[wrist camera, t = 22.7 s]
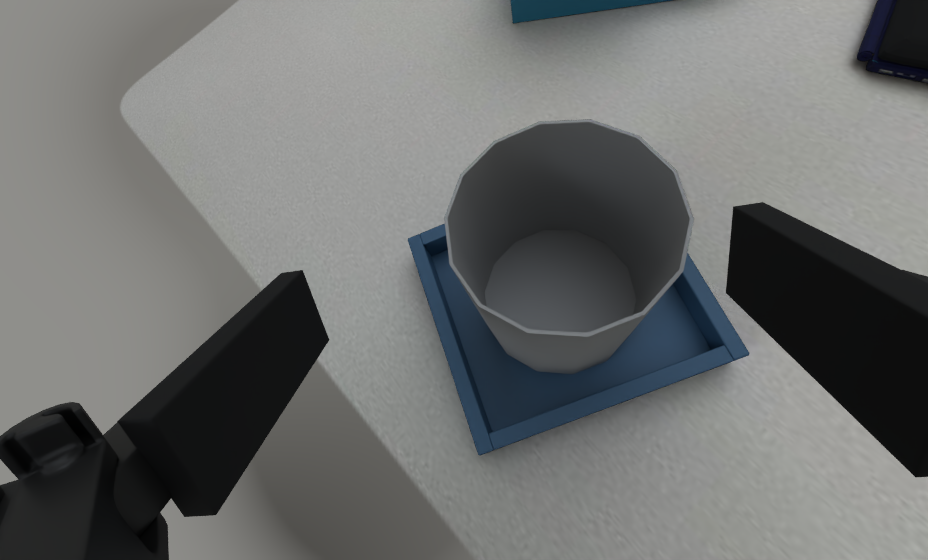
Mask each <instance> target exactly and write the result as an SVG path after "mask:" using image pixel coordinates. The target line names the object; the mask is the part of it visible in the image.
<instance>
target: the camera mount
mask: <svg viewBox="0 0 928 560" xmlns="http://www.w3.org/2000/svg"><path fill="white" fill-rule="evenodd" d="M664 1H671V0H511V8H512V19H513V23H518V22H525V21H532V20H539V19H546V18H553V17H560V16H567V15H574V14H580V13H587V12H594V11H601V10H608V9H615V8H622V7H629V6H636V5H643V4H650V3H657V2H664Z"/></svg>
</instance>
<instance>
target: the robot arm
mask: <svg viewBox="0 0 928 560" xmlns="http://www.w3.org/2000/svg"><path fill="white" fill-rule="evenodd" d="M726 293H727V294H728V295H729V296H730V297H731V298H732V299H733V300H734V301H735V302H736V303H737V304H738V305H739V306H740V307H741V308H742V309H743V310H744V311H745V312H746V313H747V314H748V315H749V316H750V317H751V318H752V319H753V320H754V321H755V322H756V323H758V324H759V325H760V326H761V327H762V328H763V329H764V330H765V331H766V332H767V333H768V334H769V335H770V336H771V337H772V338H773V339H774V340H775V341H776V342H777V343H778V344H779V345H780V346H781V347H782V348H783V349H784V350H785V351H786V352H787V353H788V354H789V355H790V356H791V357H792V358H794V359H795V360H796V361H797V362H798V363H799V364H800V365H801V366H802V367H803V368H804V369H805V370H806V371H807V372H808V373H809V374H810V375H811V376H812V377H813V378H814V379H815V380H816V381H817V382H818V383H819V384H820V385H821V386H822V387H823V388H824V389H825V390H826V391H827V392H828V393H830V394H831V395H832V396H833V397H834V398H835V399H836V400H837V401H838V402H839V403H840V404H841V405H842V406H843V407H844V408H845V409H846V410H847V411H848V412H849V413H850V414H851V415H852V416H853V417H854V418H855V419H856V420H857V421H858V422H859V423H860V424H861V425H862V426H863V427H864V428H866V429H867V430H868V431H869V432H870V433H871V434H872V435H873V436H874V437H875V438H876V439H877V440H878V441H879V442H880V443H881V444H882V445H883V446H884V447H885V448H886V449H887V450H888V451H889V452H890V453H891V454H892V455H893V456H894V457H895V458H896V459H897V460H898V461H899V462H900V463H901V464H903V465H904V466H905V467H906V468H907V469H908V470H909V471H910V472H911V473H912V474H913V475H914V476H915V477H928V277H927V276H923V275H919V274H916V273H912V272H908V271H905V270H900V269H898V268H896V267H894V266H892V265H890V264H888V263H886V262H884V261H882V260H880V259H878V258H876V257H874V256H872V255H869V254H867V253H865V252H863V251H861V250H859V249H857V248H855V247H853V246H851V245H849V244H847V243H845V242H843V241H841V240H839V239H837V238H835V237H833V236H831V235H829V234H827V233H825V232H822V231H820V230H818V229H816V228H814V227H812V226H810V225H808V224H806V223H804V222H802V221H800V220H798V219H796V218H794V217H792V216H790V215H788V214H786V213H784V212H782V211H780V210H778V209H775V208H773V207H771V206H769V205H767V204H765V203H763V202H762V203H755V204H749V205H742V206H735V207H733V217H732V229H731V240H730V252H729V263H728V275H727V287H726ZM328 341H329V338H328V336H327V333H326V330H325V328H324V325H323V323H322V320H321V317H320V315H319V312H318V309H317V307H316V304H315V302H314V299H313V296H312V294H311V291H310V289H309V286H308V283H307V281H306V278H305V276H304V273H303V270H300V271H293V272H286V273H281V274H280V275H279V276H278V277H276V278H275V279H274V280H273V281H272V282H271V283H270V284H269V285H268V286H266V287H265V288H264V289H263V290H262V291H261V292H260V293H259V294H258V295H257V296H255V297H254V298H253V299H252V300H251V301H250V302H249V303H248V304H247V305H245V306H244V307H243V308H242V309H241V310H240V311H239V312H238V313H237V314H236V315H234V316H233V317H232V318H231V319H230V320H229V321H228V322H227V323H226V324H224V325H223V326H222V327H221V328H220V329H219V330H218V331H217V332H216V333H215V334H213V335H212V336H211V337H210V338H209V339H208V340H207V341H206V342H205V343H203V344H202V345H201V346H200V347H199V348H198V349H197V350H196V351H195V352H194V353H193V354H191V355H190V356H189V357H188V358H187V359H186V360H185V361H184V362H182V363H181V364H180V365H179V366H178V367H177V368H176V369H175V370H174V371H173V372H171V374H169V375H168V376H167V377H166V378H165V379H164V380H163V381H162V382H161V383H159V384H158V385H157V386H156V387H155V388H154V389H153V390H152V391H151V392H149V393H148V394H147V395H146V396H145V397H144V398H143V399H142V400H141V401H139V402H138V403H137V404H136V405H135V406H134V407H133V408H132V409H131V410H130V411H128V412H127V413H126V414H125V415H124V416H123V417H122V418H121V419H120V420H119V421H118V422H117V423H116V424H115V425H114V426H113V427H112V428H111V429H110V430H108V431H107V432H106V433H105V434H104V435H102V433H101V432H100V431H99V429H98V428H97V426H96V425H95V424H94V422H93V421H92V420H91V418H90V417H89V416H88V414H87V413H86V411H85V410H84V409H83V407H82V406H81V405H80V404H79V403H74V402H70V403H65V404H60V405H57V406H54V407H51V408H48V409H46V410H43V411H41V412H39V413H37V414H35V415H33V416H30V417H28V418H26V419H25V420H23V421H22V422H20V423H18V424H17V425H15V426H13V427H12V428H10V429H9V430H8V431H6V432H5V433H4V434H3V435H1V436H0V459H1V460H2V461H3V463H4V464H5V465H6V466H7V467H8V468H9V469H10V470H11V472H12V473H13V474H14V475H15V476H16V477H17V478H18V479H19V480H16V481H13V482H9V483H7V484H3V485H0V560H169V554H168V525H167V523H166V521H165V519H164V517H163V516H162V515H161V513H160V512H161V510H162V509H163V508H164V507H165V505H166V504H167V503H168V501H169V500H170V499H171V498H172V500H173V501H174V503H175V504H176V505H177V507H178V508H179V510H180V511H181V513H182V514H183V515H184V517H189V516H208V515H216V514H217V513H218V511H219V510H220V508H221V506H222V505H223V503H224V502H225V500H226V499H227V497H228V496H229V494H230V492H231V491H232V489H233V488H234V486H235V485H236V483H237V482H238V480H239V479H240V477H241V476H242V474H243V472H244V471H245V469H246V468H247V466H248V465H249V463H250V461H251V460H252V459H253V457H254V455H255V454H256V452H257V451H258V449H259V448H260V446H261V445H262V443H263V442H264V440H265V438H266V437H267V435H268V434H269V432H270V431H271V429H272V428H273V426H274V425H275V423H276V421H277V420H278V418H279V416H280V415H281V414H282V412H283V410H284V409H285V408H286V406H287V404H288V403H289V401H290V400H291V398H292V397H293V395H294V394H295V392H296V391H297V389H298V387H299V386H300V384H301V383H302V381H303V380H304V378H305V377H306V375H307V374H308V372H309V370H310V369H311V367H312V365H313V364H314V363H315V361H316V360H317V358H318V357H319V355H320V353H321V352H322V350H323V349H324V347H325V346H326V344H327V343H328Z"/></svg>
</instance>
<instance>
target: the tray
mask: <svg viewBox="0 0 928 560" xmlns="http://www.w3.org/2000/svg"><path fill="white" fill-rule="evenodd" d="M408 242H409V245H410V248H411V251H412V254H413V257H414V260H415V263H416V267H417V270H418V273H419V276H420V279H421V282H422V285H423V288H424V291H425V294H426V297H427V300H428V303H429V306H430V309H431V312H432V315H433V318H434V321H435V324H436V327H437V330H438V333H439V336H440V339H441V342H442V346H443V349H444V352H445V355H446V358H447V361H448V364H449V367H450V370H451V373H452V376H453V379H454V382H455V385H456V388H457V391H458V394H459V397H460V400H461V403H462V406H463V409H464V412H465V415H466V418H467V421H468V425H469V428H470V431H471V434H472V437H473V440H474V443H475V446H476V449H477V452H478V455H482V454H485V453H488V452H490V451H493V450H496V449H498V448H501V447H504V446H506V445H509V444H512V443H515V442H517V441H520V440H523V439H525V438H528V437H531V436H533V435H536V434H539V433H541V432H544V431H547V430H549V429H552V428H555V427H558V426H560V425H563V424H566V423H568V422H571V421H574V420H576V419H579V418H582V417H584V416H587V415H590V414H592V413H595V412H598V411H600V410H603V409H606V408H609V407H611V406H614V405H617V404H619V403H622V402H625V401H627V400H630V399H633V398H635V397H638V396H641V395H643V394H646V393H649V392H651V391H654V390H657V389H660V388H662V387H665V386H668V385H670V384H673V383H676V382H678V381H681V380H684V379H686V378H689V377H692V376H694V375H697V374H700V373H703V372H705V371H708V370H711V369H713V368H716V367H719V366H721V365H724V364H727V363H729V362H732V361H735V360H737V359H740V358H743V357H745V356H748V355H749V352H748V350H747V349H746V347H745V345H744V344H743V342H742V341H741V339H740V337H739V336H738V334H737V332H736V331H735V329H734V328H733V326H732V324H731V323H730V321H729V319H728V318H727V316H726V315H725V313H724V311H723V310H722V308H721V306H720V305H719V303H718V302H717V300H716V298H715V297H714V295H713V293H712V292H711V290H710V289H709V287H708V285H707V284H706V282H705V280H704V279H703V277H702V276H701V274H700V272H699V271H698V269H697V267H696V266H695V264H694V263H693V261H692V259H691V258H690V256H689V254H688V253H687V256H686V261H685V266H684V271H683V272H682V273H681V275H680V276H679V277H678V278H677V279H676V280H675V282H674V283H673V284H672V285H671V286H670V288H669V289H668V290H667V291H666V292H665V294H664V295H663V296H662V297H661V298H660V299H659V301H658V302H657V303H656V304H655V305H654V307H653V308H652V309H651V310H650V311H649V312H648V314H647V315H646V316H645V317H644V318H643V320H642V321H641V322H640V323H639V324H638V326H637V327H636V328H635V329H634V330H633V331H632V333H631V334H630V335H629V336H628V337H627V338H626V340H625V341H624V342H623V343H622V344H621V345H620V346H619V347H618V349H617V350H616V351H615V352H614V353H613V354H612V355H611V357H610V358H609V359H608V360H607V361H606V362H603V363H601V364H598V365H596V366H593V367H591V368H588V369H585V370H583V371H580V372H578V373H575V374H563V373H550V372H538V371H536V370H534V369H532V368H530V367H529V366H527V365H525V364H523V363H522V362H520V361H518V360H516V359H515V358H513V357H511V356H509V355H508V354H507V353H506V352H505V350H504V349H503V347H502V346H501V345H500V343H499V342H498V340H497V339H496V337H495V336H494V334H493V333H492V331H491V330H490V329H489V327H488V325H487V324H486V322H485V321H484V319H483V317H482V316H481V314H480V313H479V311H478V309H477V308H476V306H475V305H474V303H473V301H472V300H471V298H470V297H469V295H468V293H467V292H466V290H465V289H464V287H463V285H462V284H461V282H460V281H459V279H458V277H457V276H456V274H455V272H454V271H453V269H452V268H451V266H450V264H449V255H448V247H447V238H446V229H445V224H442V225H440V226H438V227H435V228H433V229H430V230H428V231H425V232H423V233H421V234H418V235H416V236H413V237H411V238H409V239H408Z"/></svg>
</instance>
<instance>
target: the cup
mask: <svg viewBox="0 0 928 560" xmlns="http://www.w3.org/2000/svg"><path fill="white" fill-rule="evenodd" d="M444 221H445V229H446V238H447V247H448V255H449V264H450V266H451V268H452V269H453V271H454V272H455V274H456V276H457V277H458V279H459V281H460V282H461V284H462V285H463V287H464V289H465V290H466V292H467V293H468V295H469V297H470V298H471V300H472V301H473V303H474V305H475V306H476V308H477V309H478V311H479V313H480V314H481V316H482V317H483V319H484V321H485V322H486V324H487V325H488V327H489V329H490V330H491V331H492V333H493V334H494V336H495V337H496V339H497V340H498V342H499V343H500V345H501V346H502V347H503V349H504V350H505V352H506V353H507V354H508V355H509V356H511V357H513V358H515V359H516V360H518V361H520V362H522V363H523V364H525V365H527V366H529V367H530V368H532V369H534V370H536V371H538V372H550V373H563V374H575V373H578V372H580V371H583V370H585V369H588V368H591V367H593V366H596V365H598V364H601V363H603V362H606V361H607V360H608V359H609V358H610V357H611V355H612V354H613V353H614V352H615V351H616V350H617V349H618V347H619V346H620V345H621V344H622V343H623V342H624V341H625V340H626V338H627V337H628V336H629V335H630V334H631V333H632V331H633V330H634V329H635V328H636V327H637V326H638V324H639V323H640V322H641V321H642V320H643V318H644V317H645V316H646V315H647V314H648V312H649V311H650V310H651V309H652V308H653V307H654V305H655V304H656V303H657V302H658V301H659V299H660V298H661V297H662V296H663V295H664V294H665V292H666V291H667V290H668V289H669V288H670V286H671V285H672V284H673V283H674V282H675V280H676V279H677V278H678V277H679V276H680V275H681V273H682V272H683V271H684V266H685V261H686V256H687V251H688V246H689V241H690V236H691V231H692V226H693V221H694V217H693V215H692V212H691V209H690V206H689V203H688V200H687V197H686V195H685V192H684V189H683V186H682V183H681V180H680V178H679V175H678V172H677V170H676V169H675V168H674V167H673V166H672V165H670V164H669V163H668V162H667V161H666V160H665V159H664V158H663V157H662V156H661V155H660V154H659V153H657V152H656V151H655V150H654V149H653V148H652V147H651V146H650V145H649V144H648V143H647V142H646V141H644V140H643V139H642V138H641V137H640V136H638V135H635V134H632V133H630V132H627V131H624V130H621V129H618V128H615V127H612V126H609V125H606V124H603V123H600V122H597V121H594V120H591V119H585V120H563V121H541V122H537V123H535V124H533V125H530V126H528V127H526V128H523V129H521V130H519V131H516V132H514V133H512V134H509V135H507V136H505V137H502V138H500V139H498V140H495V141H494V142H493V143H492V144H491V145H490V146H489V147H488V148H487V149H486V150H485V151H484V152H483V153H482V154H481V155H480V156H479V157H478V158H477V159H476V160H475V161H474V162H473V163H472V164H471V165H470V166H469V167H468V168H467V169H466V170H465V171H464V172H463V173H462V174H461V175H460V177H459V180H458V182H457V185H456V188H455V190H454V193H453V196H452V198H451V201H450V204H449V206H448V209H447V212H446V214H445V217H444Z"/></svg>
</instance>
